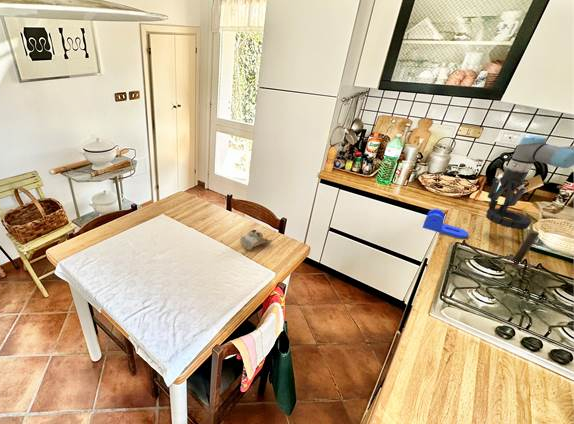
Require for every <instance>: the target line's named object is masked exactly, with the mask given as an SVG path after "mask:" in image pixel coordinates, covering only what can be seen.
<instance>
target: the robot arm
mask: <svg viewBox="0 0 574 424" xmlns="http://www.w3.org/2000/svg"><path fill="white" fill-rule="evenodd" d="M535 162H538V163H542V164H545V165H549V166H552V167H554V168H559V169H560V168H561V169H570V168H571V167H573V166H574V145H569V146H567V145H565V146H559V145H553V144H548V143H547V138H546V137H545V136H540V135H533V134H530V135H529V134H527V135H524V136H523V137H522V138H521V139H520V141H519V143H518V144H517V146H516V149H515V150H514V153H513V155H512V157H511V158H510V160H509V162H508V164H507V168H505V170H504V171H503V174H502V176H501V177H496V178H492V184H491V187H490V190H489V192H488V194H487V199H489V200H490V201H489V203H488V209H487V211H486V214H487V213H488V211H489V209H493V208H497V205H498V203H499V201H498V200H499V199H500V197H501V195H502V194H503V193H504V191H505V190H506V195H505V198H504V200H503V203H502V204H500V206H499V209H498V211H497V214H498V215H499V216H501V215H502V213H503V212H505V211H506V210H508V208H509V207H514V206H516V205H517V204H518V202H519V200H520V199H521V197H522V196H523V195H524V193H525V192H527V191H528V190H529V188H528V187H525V186H524V185H523V184H524V183H523V182H524V181H525V179H526V177H527V176H528V174H529V172H530V171H531V169H532V167H533V165H534V164H535ZM517 189H518V191H517Z"/></svg>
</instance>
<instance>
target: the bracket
mask: <svg viewBox="0 0 574 424" xmlns="http://www.w3.org/2000/svg"><path fill="white" fill-rule="evenodd" d="M445 217H446V216H445V213H444V211H443V210H442V209H440V208H433V209H430V210H429V211H428V212H427V214H426V217H425V220H424V222H423V225H422V229H425V230H429V231H433V232H435V233H440V234H443V235H446V236H450V237H453V238H456V239H467V238H468V235H469V233H468V231H466V230H465V229H463V228H460V227H458V226H453V225H449V224H446V223H444V219H445Z"/></svg>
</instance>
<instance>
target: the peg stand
mask: <svg viewBox="0 0 574 424" xmlns="http://www.w3.org/2000/svg"><path fill="white" fill-rule="evenodd" d="M539 235H540V232H538V231H537V230H536V231H535V230H530V231H529V233H528V234H527V235H526V237H525V239H524V241H523V242H522V244H521V245H520V247H519V248H518V250H517V251H516V253H514V254H515V255H513V254H510V255H505V256H504V255H503V256H500V257H501V258H505V259H509V260H511V261H513V260H514V261H513V262H514V263H507V264H508V265H509V266H512V267H513V268H514V269H517V270H518V271H520V270H522V269H521V268H520V266H519V265H518V264H519V262H520V263H522V262H523V261H524V258H525V256H526V255H527V253H528V252H529V250H530V249H531V248H532V246H533V244H534V242H535V241H536V240H537V238H538V237H539ZM515 261H516V262H515ZM527 266H528V268H527V269H529V268H533V267H534V265H532V264H530V263H528V262H527Z"/></svg>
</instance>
